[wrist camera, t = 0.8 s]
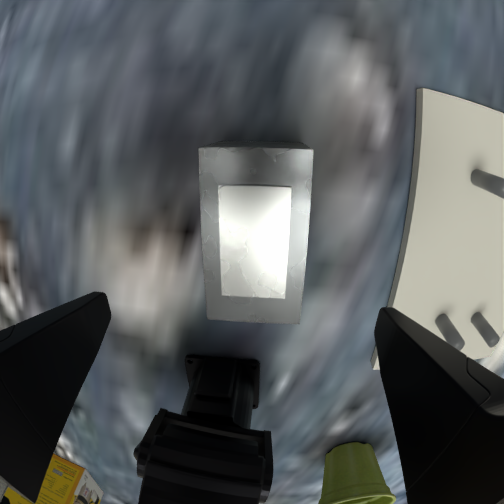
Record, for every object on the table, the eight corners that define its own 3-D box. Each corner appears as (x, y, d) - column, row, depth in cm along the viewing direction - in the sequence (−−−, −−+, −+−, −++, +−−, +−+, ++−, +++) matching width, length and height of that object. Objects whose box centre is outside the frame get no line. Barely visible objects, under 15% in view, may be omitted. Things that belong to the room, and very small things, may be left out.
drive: (295, 273, 22) (299, 325, 16) (224, 270, 22) (206, 320, 16) (302, 142, 18) (313, 150, 12) (222, 140, 18) (197, 148, 13)
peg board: (486, 350, 23) (505, 378, 19) (370, 361, 24) (381, 399, 20) (544, 133, 14) (579, 141, 10) (416, 89, 16) (450, 83, 11)
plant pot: (388, 454, 31) (398, 506, 23) (323, 472, 34) (325, 523, 26) (379, 425, 28) (392, 488, 20) (302, 446, 31) (303, 508, 23)
